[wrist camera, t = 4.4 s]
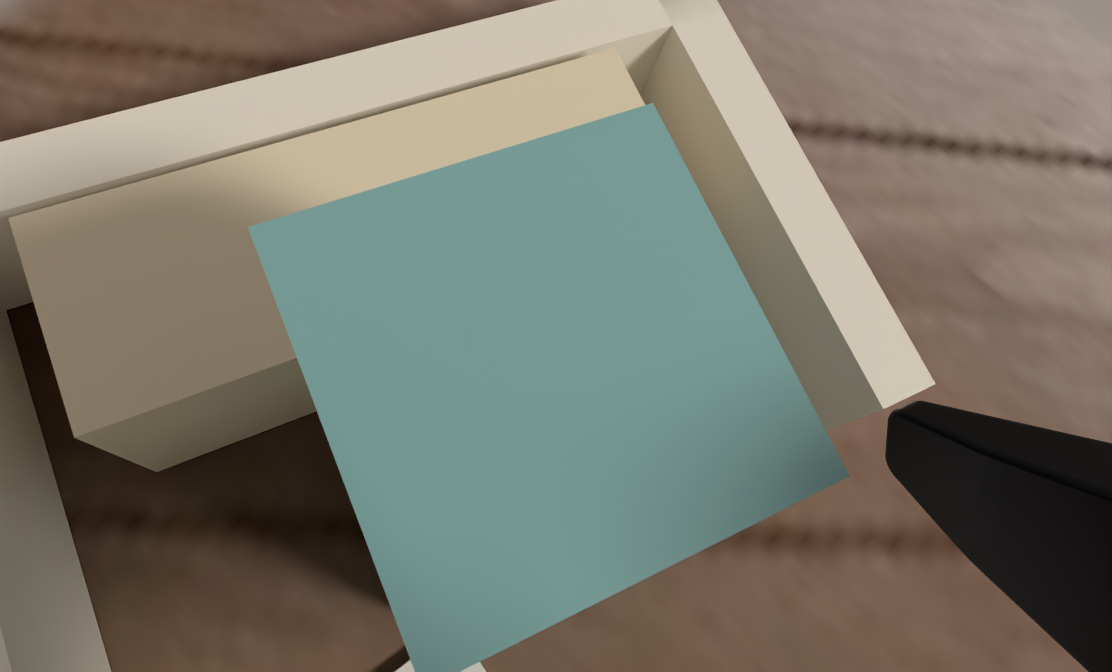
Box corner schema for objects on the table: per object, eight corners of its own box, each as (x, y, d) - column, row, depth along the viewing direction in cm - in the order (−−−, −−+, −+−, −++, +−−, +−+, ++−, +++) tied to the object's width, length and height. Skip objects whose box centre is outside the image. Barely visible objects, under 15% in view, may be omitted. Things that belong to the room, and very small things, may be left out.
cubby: (843, 419, 21) (950, 378, 17) (58, 791, 16) (-78, 870, 11) (652, 63, 23) (703, -51, 19) (-80, 275, 18) (-232, 182, 14)
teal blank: (592, 538, 19) (849, 475, 8) (419, 620, 18) (421, 691, 6) (519, 374, 20) (652, 102, 9) (351, 441, 19) (247, 227, 7)
